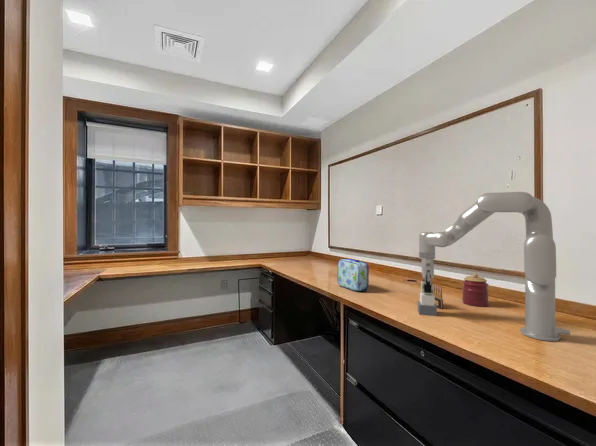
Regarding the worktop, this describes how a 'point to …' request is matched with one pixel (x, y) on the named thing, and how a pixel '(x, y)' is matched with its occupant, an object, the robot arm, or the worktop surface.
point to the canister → (475, 291)
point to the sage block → (423, 287)
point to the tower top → (427, 299)
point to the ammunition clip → (438, 296)
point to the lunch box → (353, 274)
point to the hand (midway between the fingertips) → (426, 290)
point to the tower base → (427, 310)
